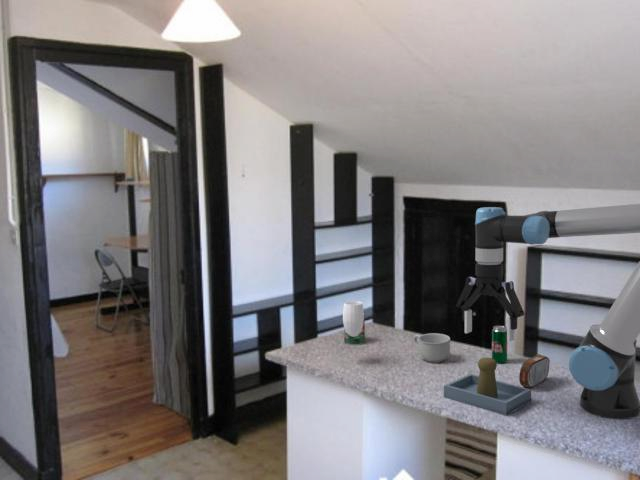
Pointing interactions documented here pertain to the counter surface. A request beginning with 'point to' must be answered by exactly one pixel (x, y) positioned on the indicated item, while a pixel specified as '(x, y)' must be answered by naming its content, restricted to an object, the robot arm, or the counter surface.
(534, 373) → the tin
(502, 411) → the tray
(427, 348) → the teacup
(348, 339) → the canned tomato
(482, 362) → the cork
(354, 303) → the cup
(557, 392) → the counter surface
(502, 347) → the soda can
